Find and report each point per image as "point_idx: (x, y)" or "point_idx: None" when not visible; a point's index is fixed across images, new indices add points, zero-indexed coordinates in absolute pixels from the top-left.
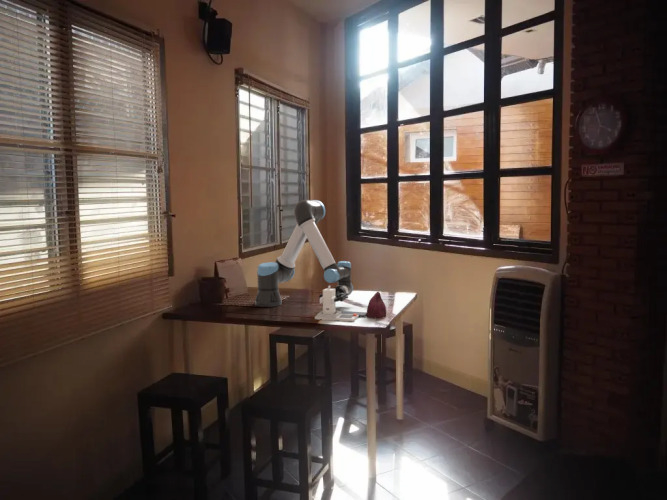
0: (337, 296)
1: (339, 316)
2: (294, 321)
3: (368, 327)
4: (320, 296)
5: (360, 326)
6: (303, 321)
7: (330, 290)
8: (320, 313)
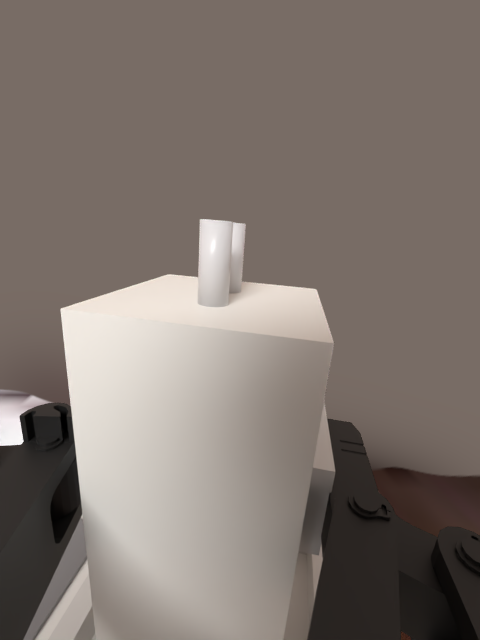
0: (61, 422)
1: (87, 570)
2: (445, 484)
3: (4, 393)
4: (431, 535)
5: (35, 404)
6: (387, 486)
7: (196, 278)
8: (312, 583)
